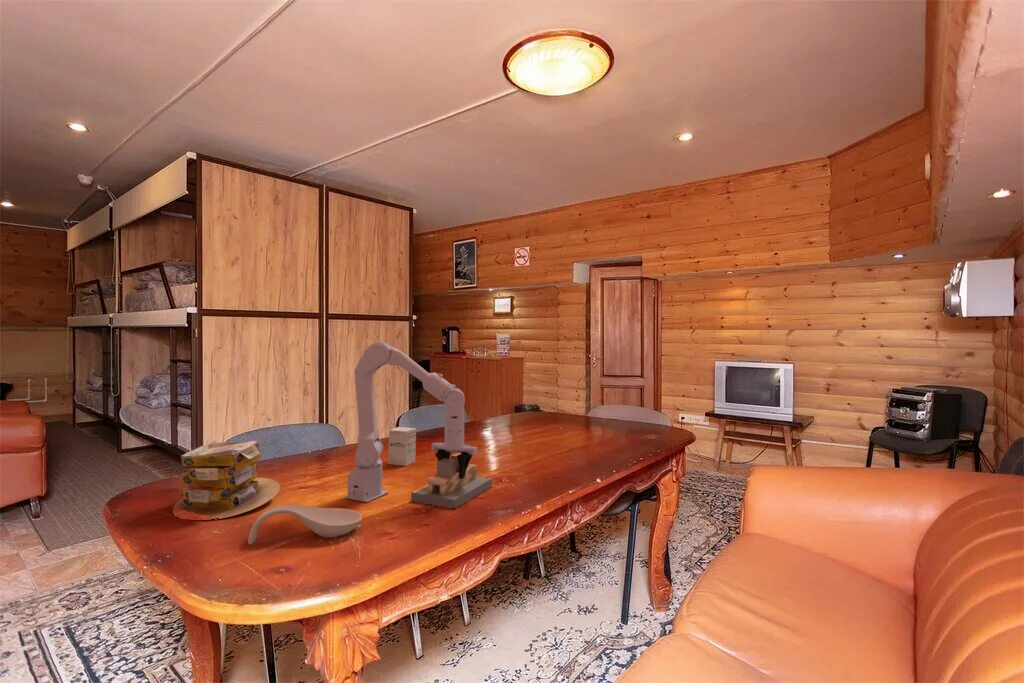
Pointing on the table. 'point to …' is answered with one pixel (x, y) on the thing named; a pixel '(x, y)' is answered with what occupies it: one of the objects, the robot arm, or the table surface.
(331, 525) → the spoon rest
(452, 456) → the salmon pink cube
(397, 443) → the supplement box
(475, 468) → the tan piece
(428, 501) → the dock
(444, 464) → the grey cube
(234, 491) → the stacked yellow boxes
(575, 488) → the table surface
